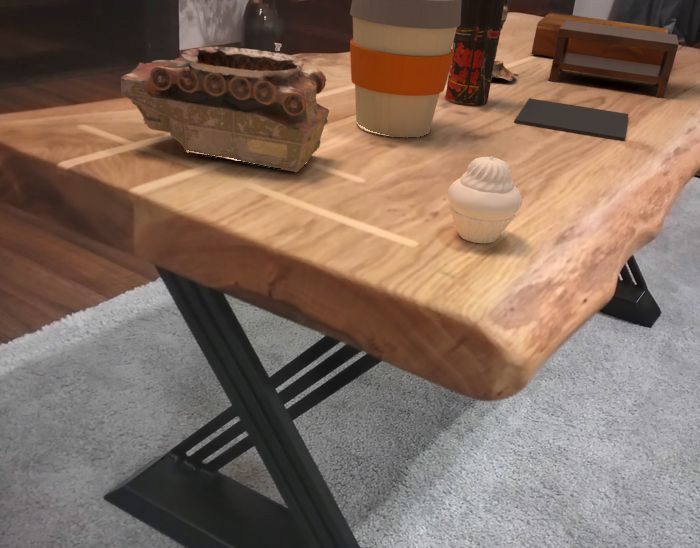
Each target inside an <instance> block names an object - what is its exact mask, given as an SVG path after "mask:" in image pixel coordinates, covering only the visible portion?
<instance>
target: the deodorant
mask: <svg viewBox="0 0 700 548" xmlns="http://www.w3.org/2000/svg"><path fill="white" fill-rule="evenodd" d="M504 3H505V0H462V2H461V23H460V26H459V27H457V29H456V33H455V37H454V41H453V44H452V48H451V49H452V50H453V51H454V55H453V59H452V62H451V66H450V70H449V74H448V77H447V82H446V89H445V90H446V91H445V100H446V101H447V102H449V103H453V104H455V105H461V106H468V107H481V106H486V105H487V104H488V101H489V96H490V90H491V83H492V78H493V77H492V73H493V67H494V61H496V58H495V55H496V56H497V53H496V50H497V51H498V46H497V44H498V45H499V43H498V38H499V39H500V36H499V32H500V26H501V20H502V15H503V9H504ZM500 33H501V32H500Z"/></svg>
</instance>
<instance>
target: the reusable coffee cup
mask: <svg viewBox="0 0 700 548" xmlns="http://www.w3.org/2000/svg"><path fill="white" fill-rule="evenodd" d="M461 2H462V0H351V4H350V11H349V15H350V16H351V17H352V35H353V37H352V38H351V39H350V41H349V53H350V57H349V58H350V79H351V83H352V84H353V85H354V93H355V95H354V96H355V122H356V121H357V122H358V124H359V125H361V126H363V127H365V128H366V129H368V130H370V131H373V132H377V133H380V134H385V135H389V136H393V137H392V138H394V137H407V138H406V139H409V138H408V137H416V138H420V136H421V137H425V136H427V135H429V133H430V132H431V127H432V123H433V120H434V117H435V112H436V108H437V105H438V102H439V97H440V95H441V93H443V92H444V91H445V90H446V89H445V88H446V86H447V82H448V76H449V70H450V66H451V62H452V59H453V55H454V51H453V50H452V48H453V41H454V37H455V33H456V29H457V27H459V26H460V23H461ZM426 134H427V135H426ZM424 135H425V136H424Z"/></svg>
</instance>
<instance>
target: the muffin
mask: <svg viewBox="0 0 700 548" xmlns="http://www.w3.org/2000/svg"><path fill="white" fill-rule="evenodd" d="M511 176H512V169H511V167H510V165H509V164H508V163H507V162H506V161H504V160H503V159H500V158H497V157H494V156H493V155H491V156H480V157H476V158H474V159H473V160H472V161H470V163H469V164H468V165H467V170H466V172H464V173H463V174H462V175H461V177H460V178H457V179H456V180H455V181H453V182H452V183H451V184H450V186H449V188H448V190H447V198H448V202H449V206H448V207H449V210H450V214H451V216H452V219H453V222H454V225H455V227H456V231H457V234H458V236H459V237H461V239H463V240H465V241H467V242H470V243H476V244H491V243H494V242H495V241H497V239H498V238H499V237H500V236H501V235H502V233H503V232H504V231H505V230H506V228H507V227H508V226H509V225H510V224H511V222H512V221H513V220H514V219H515V217H516V214H517V213H518V212H519V211H520V209H521V208H522V205H523V197H522V194H521V192H520V191H519V189H518V187H516V185H515V183H514V180H513V179H512V177H511Z"/></svg>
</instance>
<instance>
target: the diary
mask: <svg viewBox="0 0 700 548" xmlns="http://www.w3.org/2000/svg"><path fill="white" fill-rule="evenodd" d="M566 20H568V21H575V22H583V23H590V24H598V25H605V26H613V27H620V28H628V29H636V30H643V31H651V32H658V33H666V34H669V28H664V27H658V26H650V25H643V24H636V23H629V22H623V21H615V20H610V19H609V20H608V19H602V18H595V17H588V16H580V15H576V14H575V15H574V14H569V13H568V14H567V13H561V12H554V11H550V12H549V13H547V14H546V15H545V16H544V17H542V18H541V19H540V20H539V21H538V22H537V24H536V28H535V33H534V38H533V44H532V48H531V55H535V56H536V55H537V56H544V57H548V58H553V57H554V53H555V48H556V43H557V38H558V33H559V29H560V27H561V26H562V25H563V24H564V22H565V21H566ZM664 52H665V51H660V50H653V49H646V48H638V47H631V46H624V45H617V44H609V43H602V42H595V41H588V40H580V39H573V38H569V43H568V48H567V53H574V54H581V55H588V56H595V57H602V58H609V59H616V60H623V61H631V62H638V63H645V64H652V65H659V66H661V63H662V59H663V55H664Z"/></svg>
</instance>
